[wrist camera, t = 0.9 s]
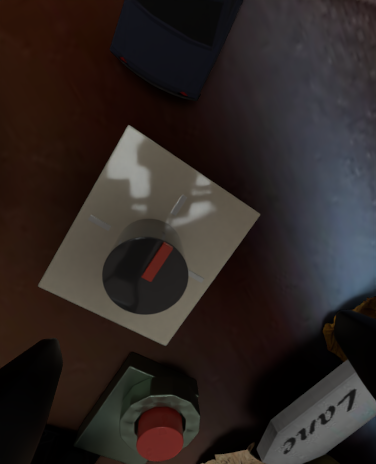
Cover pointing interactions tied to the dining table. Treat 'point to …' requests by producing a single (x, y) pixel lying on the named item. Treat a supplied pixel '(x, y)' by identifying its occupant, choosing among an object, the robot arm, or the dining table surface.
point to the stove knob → (146, 268)
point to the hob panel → (148, 207)
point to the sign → (318, 419)
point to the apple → (323, 460)
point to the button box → (137, 408)
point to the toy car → (173, 41)
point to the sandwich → (237, 457)
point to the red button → (160, 434)
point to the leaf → (369, 308)
